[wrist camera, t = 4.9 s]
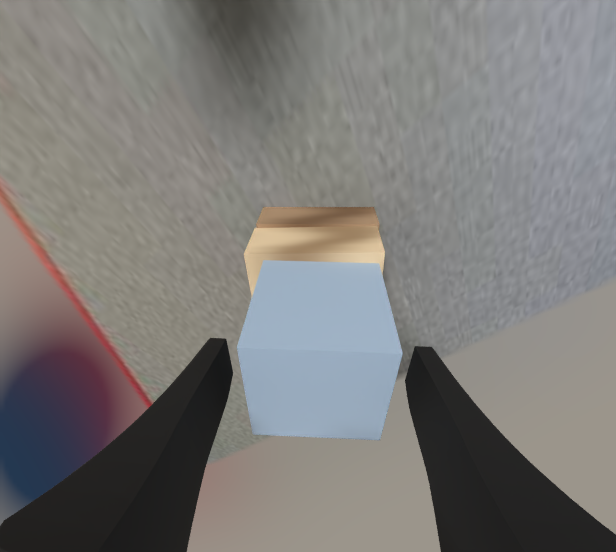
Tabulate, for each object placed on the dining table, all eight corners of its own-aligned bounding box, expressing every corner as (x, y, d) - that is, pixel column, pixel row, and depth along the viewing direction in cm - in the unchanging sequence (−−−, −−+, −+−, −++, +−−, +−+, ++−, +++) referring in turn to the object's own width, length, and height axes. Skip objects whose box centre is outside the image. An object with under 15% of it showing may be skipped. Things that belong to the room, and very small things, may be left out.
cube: (379, 263, 13) (402, 353, 9) (366, 344, 16) (379, 440, 12) (263, 260, 14) (237, 347, 10) (270, 340, 17) (252, 434, 12)
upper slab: (377, 225, 15) (384, 252, 13) (368, 317, 19) (374, 350, 17) (254, 228, 16) (243, 254, 14) (268, 317, 19) (261, 349, 17)
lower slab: (372, 204, 17) (379, 224, 15) (363, 291, 21) (368, 317, 19) (264, 204, 18) (256, 223, 15) (273, 290, 21) (267, 315, 19)
